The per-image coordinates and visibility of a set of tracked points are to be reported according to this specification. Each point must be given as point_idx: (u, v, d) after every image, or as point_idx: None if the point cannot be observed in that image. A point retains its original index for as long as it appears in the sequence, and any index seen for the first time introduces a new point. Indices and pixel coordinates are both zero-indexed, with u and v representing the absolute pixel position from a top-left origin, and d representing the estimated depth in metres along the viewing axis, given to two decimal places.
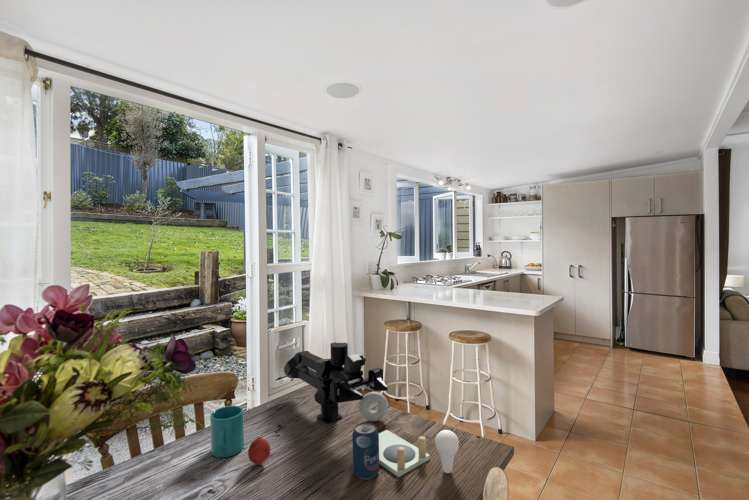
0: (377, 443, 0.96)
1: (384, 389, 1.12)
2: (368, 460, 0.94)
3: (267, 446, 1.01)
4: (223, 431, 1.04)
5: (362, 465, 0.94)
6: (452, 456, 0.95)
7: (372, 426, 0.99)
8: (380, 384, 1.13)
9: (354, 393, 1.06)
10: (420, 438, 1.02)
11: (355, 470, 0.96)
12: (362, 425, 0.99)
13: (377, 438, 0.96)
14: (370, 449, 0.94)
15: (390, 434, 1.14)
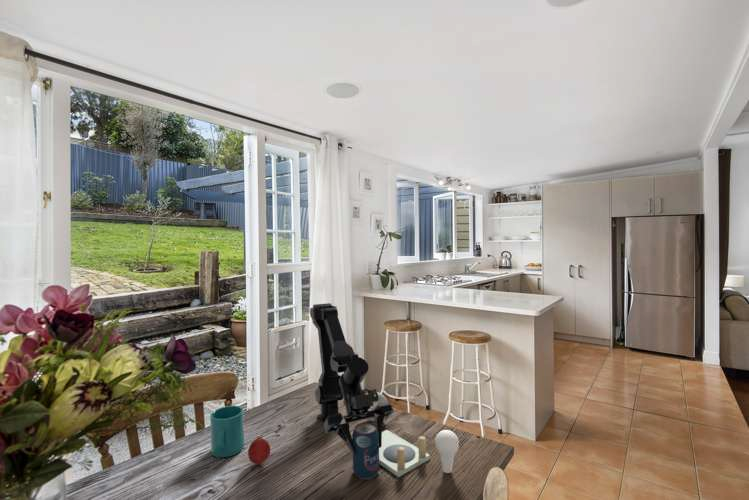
0: (377, 443, 0.96)
1: None
2: (368, 460, 0.94)
3: (267, 446, 1.01)
4: (223, 431, 1.04)
5: (362, 464, 0.94)
6: (452, 456, 0.95)
7: (372, 426, 0.99)
8: None
9: (349, 443, 0.96)
10: (420, 438, 1.02)
11: (355, 470, 0.96)
12: (362, 425, 0.99)
13: (377, 438, 0.96)
14: (370, 449, 0.94)
15: (390, 434, 1.14)
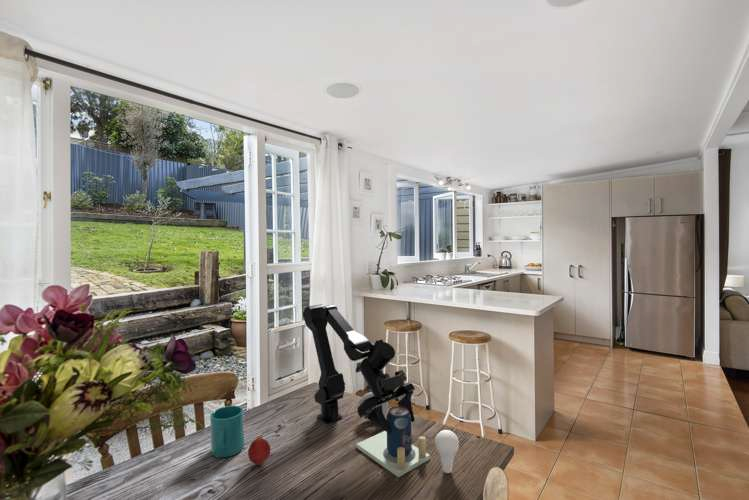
0: None
1: None
2: (406, 439, 1.01)
3: (267, 446, 1.01)
4: (223, 431, 1.04)
5: (401, 445, 1.01)
6: (452, 456, 0.95)
7: (402, 408, 1.06)
8: None
9: (384, 424, 1.00)
10: (420, 438, 1.02)
11: (393, 451, 1.01)
12: (393, 409, 1.05)
13: None
14: (407, 429, 1.01)
15: None
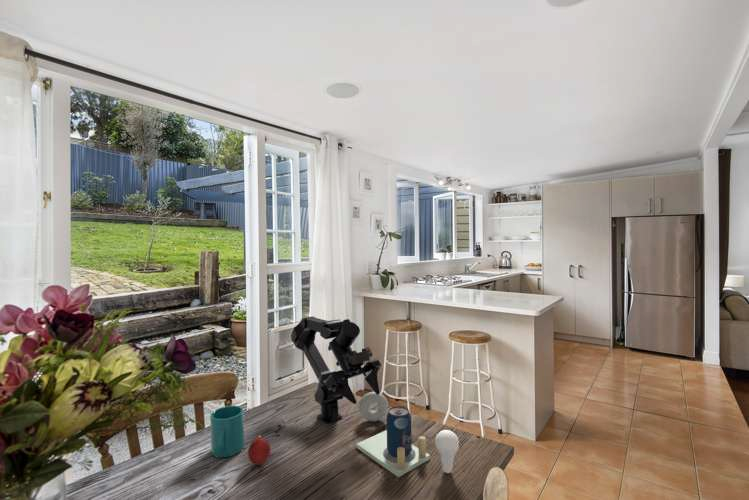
0: None
1: (375, 392, 1.15)
2: (406, 439, 1.01)
3: (267, 446, 1.01)
4: (223, 431, 1.04)
5: (401, 445, 1.01)
6: (452, 456, 0.95)
7: (402, 408, 1.06)
8: (374, 384, 1.16)
9: (349, 395, 1.08)
10: (420, 438, 1.02)
11: (393, 451, 1.01)
12: (393, 409, 1.05)
13: None
14: (407, 429, 1.01)
15: None
